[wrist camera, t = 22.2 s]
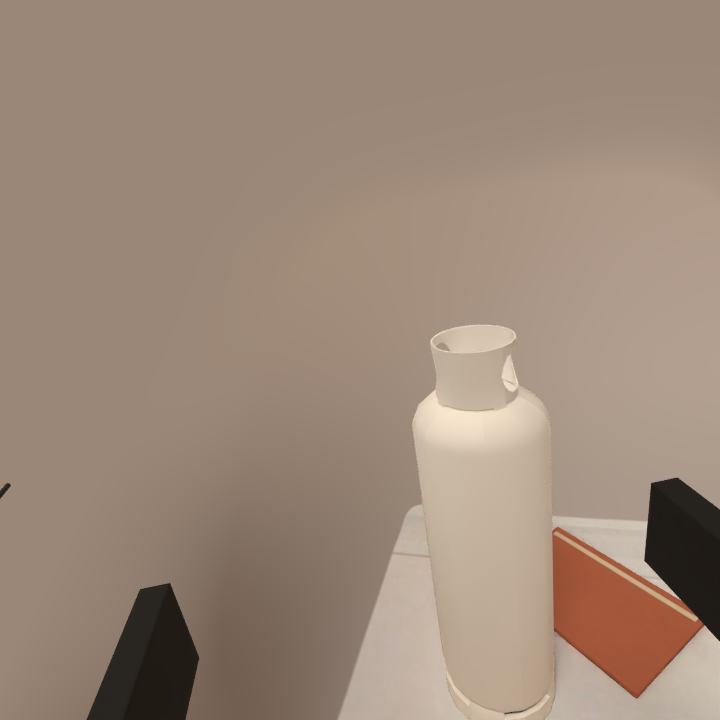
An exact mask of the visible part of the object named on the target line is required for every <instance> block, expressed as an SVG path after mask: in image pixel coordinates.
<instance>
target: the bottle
mask: <svg viewBox="0 0 720 720" xmlns="http://www.w3.org/2000/svg"><path fill="white" fill-rule="evenodd" d="M439 343H444V344H446V346H447V347H448V348H449V351H450V352H448V351H444V350H440V349H438V348H436V347H435V346H436V345H438V344H439ZM430 345H431V352H432V355H433V361H434V366H435V370H436V374H437V377H436V387H435V391H433V392H432V393H431V394H430V395H429V396H428V397H427V398H426V399H424V400H423V401H422V402H421V403H420V404H419V406H418V408H417V411H416V413H415V416H414V419H413V422H412V428H413V435H414V443H415V450H416V458H417V465H418V472H419V480H420V487H421V495H422V502H423V509H424V517H425V524H426V532H427V539H428V546H429V554H430V561H431V569H432V576H433V583H434V591H435V598H436V606H437V613H438V621H439V628H440V635H441V643H442V650H443V656H444V665H445V672H446V678H447V684H448V689H449V692H450V694H451V696H452V698H453V700H454V702H455V704H456V706H457V707H458V708H459V710H460V711H461V712H462V713H463V714H464V715H465V716H466V717H467V718H468V719H469V720H544V719H545V718H546V716H547V715H548V714H549V713H550V711H551V707H552V704H553V700H554V697H555V679H554V610H553V548H552V490H551V489H552V486H551V427H550V418H549V413H548V411H547V410H546V408H545V406H544V404H543V403H542V402H541V401H540V400H539V398H538V397H537V396H536V395H534V394H533V393H531V392H530V391H528V390H527V389H525V388H523V387H521V386H519V385H518V380H517V377H516V375H515V371H514V367H513V362H512V358H511V354H512V352H513V351H514V350H515V348H516V333H515V332H514V331H512V330H511V329H508V328H506V327H502V326H496V325H468V326H462V327H457V328H453V329H449V330H446V331H443V332H441V333H438V334H437V335H435V336H434V337H433V338H432V339H431V342H430ZM502 379H506V380H507V381H505V380H502ZM535 704H536V705H535ZM533 705H534V706H533ZM531 706H532V707H531ZM529 707H531V708H529ZM527 708H529V709H527ZM525 709H527V710H525ZM523 710H525V711H523ZM515 711H523V712H520V713H512V714H505V713H507V712H515Z"/></svg>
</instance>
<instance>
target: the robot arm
mask: <svg viewBox="0 0 720 720" xmlns="http://www.w3.org/2000/svg"><path fill="white" fill-rule="evenodd" d="M9 487H10V484H9V483H7V484H5V486H4V487H3V488H2V489H1V490H0V498H1V497H2V496H3V495H4V493H5V492H6V491H7V490H8V488H9ZM650 492H651V493H650V502H649V515H648V525H647V537H646V548H645V559H644V561H645V562H646V563H647V564H648V565H649V566H650V567H651V568H652V569H653V570H654V571H655V572H656V574H657V575H658V576H659V577H660V578H661V579H662V580H663V581H664V582H665V583H666V584H667V585H668V586H669V587H670V589H671V590H672V591H673V592H674V593H675V594H676V595H677V596H678V597H679V598H680V599H681V600H682V601H683V602H684V604H685V605H686V606H687V607H688V608H689V609H690V610H691V611H692V612H693V613H694V614H695V615H696V616H697V617H698V619H699V620H700V621H701V622H702V623H703V624H704V625H705V626H706V627H707V628H708V629H709V630H710V631H711V633H712V634H713V635H714V636H715V637H716V638H717V639H718V640H719V641H720V509H718V508H717V507H716V506H714V505H713V504H712V503H710V502H709V501H708V500H706V499H705V498H704V497H702V496H701V495H700V494H698V493H697V492H696V491H695V490H693V489H692V488H691V487H689V486H688V485H686V484H685V483H684V482H683V481H681V480H680V479H679V478H673V479H669V480H664V481H659V482H654V483H651V491H650ZM198 660H199V656H198V653H197V651H196V648H195V646H194V644H193V641H192V638H191V636H190V633H189V630H188V628H187V625H186V623H185V620H184V618H183V615H182V612H181V610H180V607H179V605H178V602H177V600H176V597H175V595H174V592H173V590H172V587H171V584H170V583H169V584H163V585H158V586H154V587H149V588H144V589H140V591H139V593H138V596H137V598H136V601H135V603H134V605H133V608H132V610H131V613H130V615H129V618H128V620H127V622H126V625H125V627H124V630H123V632H122V635H121V637H120V639H119V642H118V644H117V647H116V649H115V652H114V654H113V657H112V659H111V662H110V664H109V666H108V669H107V671H106V674H105V676H104V679H103V681H102V683H101V686H100V688H99V691H98V693H97V696H96V698H95V701H94V703H93V705H92V708H91V710H90V713H89V715H88V718H87V720H185V719H186V714H187V710H188V706H189V701H190V697H191V692H192V687H193V683H194V679H195V674H196V670H197V664H198Z"/></svg>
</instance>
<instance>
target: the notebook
mask: <svg viewBox="0 0 720 720" xmlns="http://www.w3.org/2000/svg"><path fill="white" fill-rule="evenodd" d="M552 548H553V610H554V631H555V632H557V633H558V634H559V635H560V636H561V637H563V638H564V639H565V640H566V641H568V642H569V643H570V644H571V645H572V646H574V647H575V648H576V649H577V650H578V651H580V652H581V653H582V654H583V655H585V656H586V657H587V658H588V659H589V660H591V661H592V662H593V663H594V664H595V665H597V666H598V667H599V668H600V669H602V670H603V671H604V672H605V673H606V674H608V675H609V676H610V677H611V678H613V679H614V680H615V681H616V682H617V683H619V684H620V685H621V686H622V687H623V688H625V689H626V690H627V691H628V692H630V693H631V694H632V695H633V696H634V697H636V698H638V697H639V696H640V695H641V693H642V692H643V691H644V690H645V689H646V688H647V687H648V686H649V685H650V684H651V682H652V681H653V680H654V679H655V678H656V677H657V676H658V675H659V674H660V673H661V672H662V670H663V669H664V668H665V667H666V666H667V665H668V664H669V663H670V662H671V661H672V660H673V658H674V657H675V656H676V655H677V654H678V653H679V652H680V651H681V650H682V649H683V648H684V646H685V645H686V644H687V643H688V642H689V641H690V640H691V639H692V638H693V637H694V636H695V634H696V633H697V632H698V631H699V630H700V629H701V628H702V627H703V626H704V624H703V623H702V622H701V621H700V620H699V619H698V617H697V616H696V615H695V614H694V613H693V612H692V611H691V610H690V609H689V608H688V607H687V606H686V605H685V604H684V602H682V601H680V600H679V599H677V598H675V597H674V596H672V595H670V594H669V593H667V592H665V591H664V590H662V589H660V588H659V587H657V586H655V585H654V584H652V583H650V582H649V581H647V580H645V579H644V578H642V577H640V576H639V575H637V574H636V573H634V572H632V571H631V570H629V569H627V568H626V567H624V566H622V565H621V564H619V563H617V562H616V561H614V560H612V559H611V558H609V557H607V556H606V555H604V554H602V553H601V552H599V551H597V550H596V549H594V548H592V547H591V546H589V545H587V544H586V543H584V542H582V541H581V540H579V539H577V538H576V537H574V536H572V535H571V534H569V533H567V532H566V531H564V530H562V529H561V528H559V527H557V528H556V529H554V530H553V531H552Z"/></svg>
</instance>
